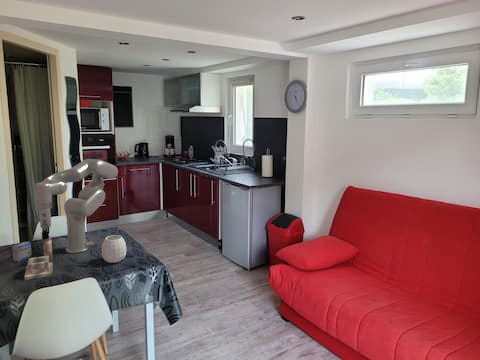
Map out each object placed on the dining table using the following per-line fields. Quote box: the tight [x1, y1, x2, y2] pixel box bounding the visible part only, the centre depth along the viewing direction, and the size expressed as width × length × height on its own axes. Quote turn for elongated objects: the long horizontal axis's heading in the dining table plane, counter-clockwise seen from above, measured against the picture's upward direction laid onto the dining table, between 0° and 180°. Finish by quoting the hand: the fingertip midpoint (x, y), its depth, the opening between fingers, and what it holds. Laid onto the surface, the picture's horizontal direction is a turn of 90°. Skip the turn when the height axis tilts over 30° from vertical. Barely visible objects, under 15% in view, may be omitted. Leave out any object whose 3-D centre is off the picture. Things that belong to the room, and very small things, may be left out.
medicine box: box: [11, 241, 33, 263], centre depth 197 cm, size 8×4×9 cm, turn 160°
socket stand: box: [24, 255, 54, 281], centre depth 182 cm, size 12×14×6 cm
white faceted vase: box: [101, 234, 127, 264], centre depth 198 cm, size 13×13×14 cm
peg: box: [42, 236, 54, 263], centre depth 193 cm, size 4×4×14 cm
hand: (45, 236), depth 191 cm, fingers open, 9 cm apart
